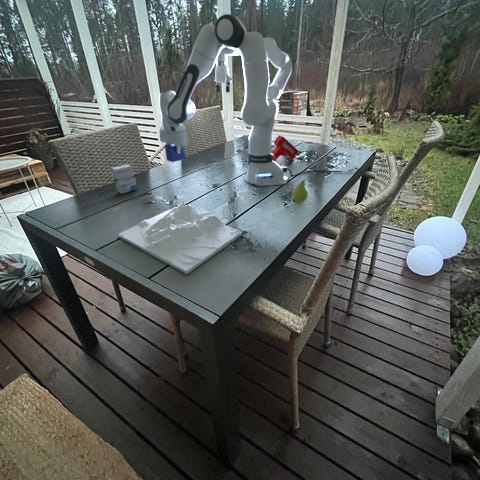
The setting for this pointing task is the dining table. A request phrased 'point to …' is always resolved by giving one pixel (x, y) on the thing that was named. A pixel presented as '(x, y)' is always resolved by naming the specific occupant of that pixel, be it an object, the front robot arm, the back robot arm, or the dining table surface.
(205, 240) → the relief map
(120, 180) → the ink box
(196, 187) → the dining table surface
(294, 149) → the red power drill
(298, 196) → the fruit
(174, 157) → the block
